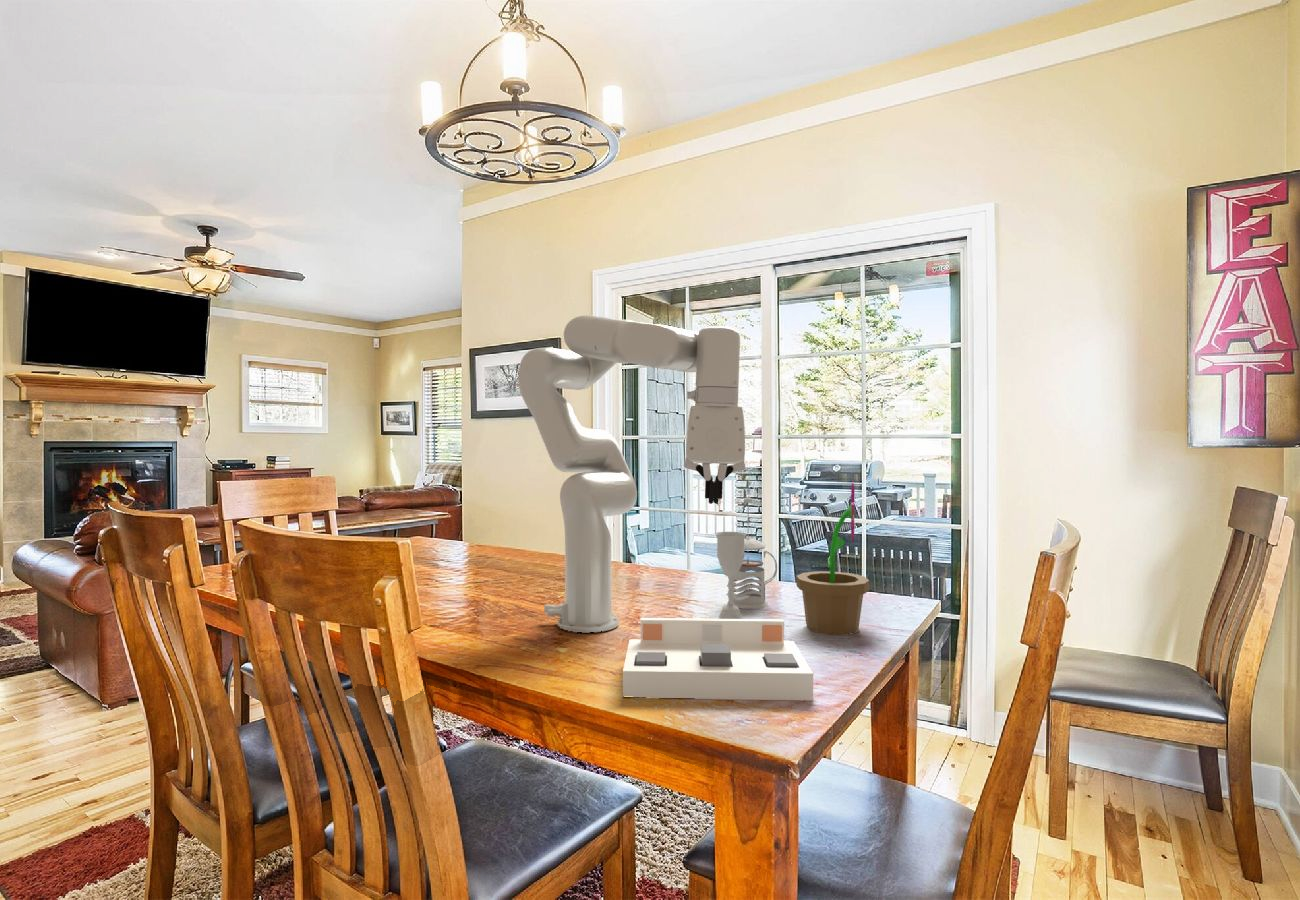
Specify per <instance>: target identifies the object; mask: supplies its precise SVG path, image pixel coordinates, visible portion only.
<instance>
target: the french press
mask: <svg viewBox="0 0 1300 900" xmlns="http://www.w3.org/2000/svg"><path fill="white" fill-rule="evenodd" d="M743 502H744V503H747V537H745V539H744V551H757V550H758V551H759V550H764V549H765V548H766V544H765V543H763V542H762V541H759V540H757V539H754V538H751V537H750V536H749V533H750V532H749V529H750V528H749V525H750V524H749V523H750V522H749V519H750V518H749V513H750V512H749V507H750V506H749V503H753V499H752V497H750V496H749V497H745V498H744V501H743ZM767 554H768V555H769V556H771V557H772V559H773V561H774V566H775V567H774V568H775V570H774V572H773V575H772V577H771V576H770V578H769V579H767V580H765V568H764V567H761V566H763V565H764V562H763V561H761V560H757V559H755V560H754V559H749V558H748V559H743V562H742V565H741V567H740V569H739V572H738V574H737V575H736V576H734V577H733V585H734V587H733V593H734V594H735V595H734V596H733V603H734V605H736V606H738V608H739V609H747V610H748V609H750V610H751V609H752V610H754V609H755V610H756V608H758V609H763V607H764V608H766V606H767V607H769V605H768V604H769V603H768V602H767V600H766V585H767V584H768V583H769V584H770V583H771V582H772V581H773V580H774V579H775V578H776V576H777V574H778V573H777V572H778V564H777V563H778V562H777V560H776V558H775V556H774V555H773V554H772V553H770V552H769V551H768V550H764V551H763V558H764V559H765V558H766V555H767ZM755 578H757V579H755ZM738 581H739V582H738ZM736 582H738V583H736ZM754 583H755V584H754ZM757 584H758V585H757ZM737 587H738V588H737ZM756 589H757V590H756ZM727 603H728V601H727V602H726V604H727Z"/></svg>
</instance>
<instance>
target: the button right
mask: <svg viewBox="0 0 1300 900" xmlns="http://www.w3.org/2000/svg"><path fill="white" fill-rule="evenodd" d="M764 663H765V665H766V667H789V668H797V661H796V660H795V658H794V656H793V654H775V653H764Z"/></svg>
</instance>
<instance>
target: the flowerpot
mask: <svg viewBox="0 0 1300 900" xmlns="http://www.w3.org/2000/svg"><path fill="white" fill-rule="evenodd" d="M850 487H851V488H850V489H851V491H850V493H851V494H850V501H851V502H850V505H849V507H847V509H846V510H845V511H844V512H843V513H842V514H841V516H840V518H839V520H838V522H837V523H836V526H835V527H834V529H833V534H832V539H831V545H830V547H829V555H830V556H829V557H828V558H827V569H829V571H819V570H818V571H817V570H816V571H808V572H802V573H800V574H798V575H796V587H797V588H798V590H800V591H801V593H802V600H803V608H804V609H803V610H804V617H805V624H806V627H807V629H808V630H809V631H812V632H814V631H815V632H814V633H817V634H822V633H823V634H824V635H829V636H846V635H845V634H848V635H851V634H850V633H854V634H856V633H857V632H858V631H859V627H860V621H861V620H860V619H861V613H862V607H863V606H862V605H863V598H864V595H865V594H867V593H868V592H869V591H870V580H869V579H868V578H867V577H865V576H863V575H861V574H860V575H859V574H856V573H851V572H842V571H841V572H840V571H835V570H836V563H835V562H836V552H838V551H839V550H840V549H841V548H842V547H843V546H844V545H845V543H846V542H845V540H844V539H843V538H841V537H840V536H839V531H840V530H841V528H842V525H844V523H845V520H846V519H847V518H850V538H851V542H853V543H854V539H855V483H854V481H852V482H851V486H850ZM857 630H858V631H857ZM856 631H857V632H856ZM855 632H856V633H855ZM823 634H822V635H823ZM843 634H844V635H843Z"/></svg>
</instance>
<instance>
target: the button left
mask: <svg viewBox="0 0 1300 900" xmlns="http://www.w3.org/2000/svg"><path fill="white" fill-rule="evenodd" d="M636 666H665V652H637V658H636Z"/></svg>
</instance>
